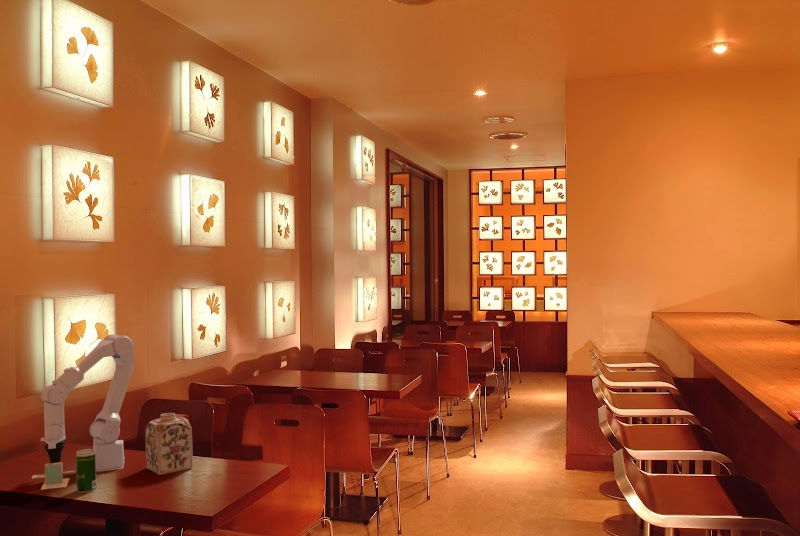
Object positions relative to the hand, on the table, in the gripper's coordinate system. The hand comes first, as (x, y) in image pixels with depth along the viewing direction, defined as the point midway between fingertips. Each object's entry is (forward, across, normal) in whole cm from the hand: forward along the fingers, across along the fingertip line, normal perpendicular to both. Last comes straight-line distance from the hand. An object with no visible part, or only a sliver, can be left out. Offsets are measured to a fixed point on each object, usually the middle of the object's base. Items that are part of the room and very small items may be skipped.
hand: (55, 466), depth 227 cm
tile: (+4, +5, 0) cm, 6 cm away
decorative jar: (+4, +1, +34) cm, 34 cm away
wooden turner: (+4, -5, -1) cm, 7 cm away
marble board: (+4, +6, 0) cm, 7 cm away
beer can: (+4, +17, +10) cm, 20 cm away
